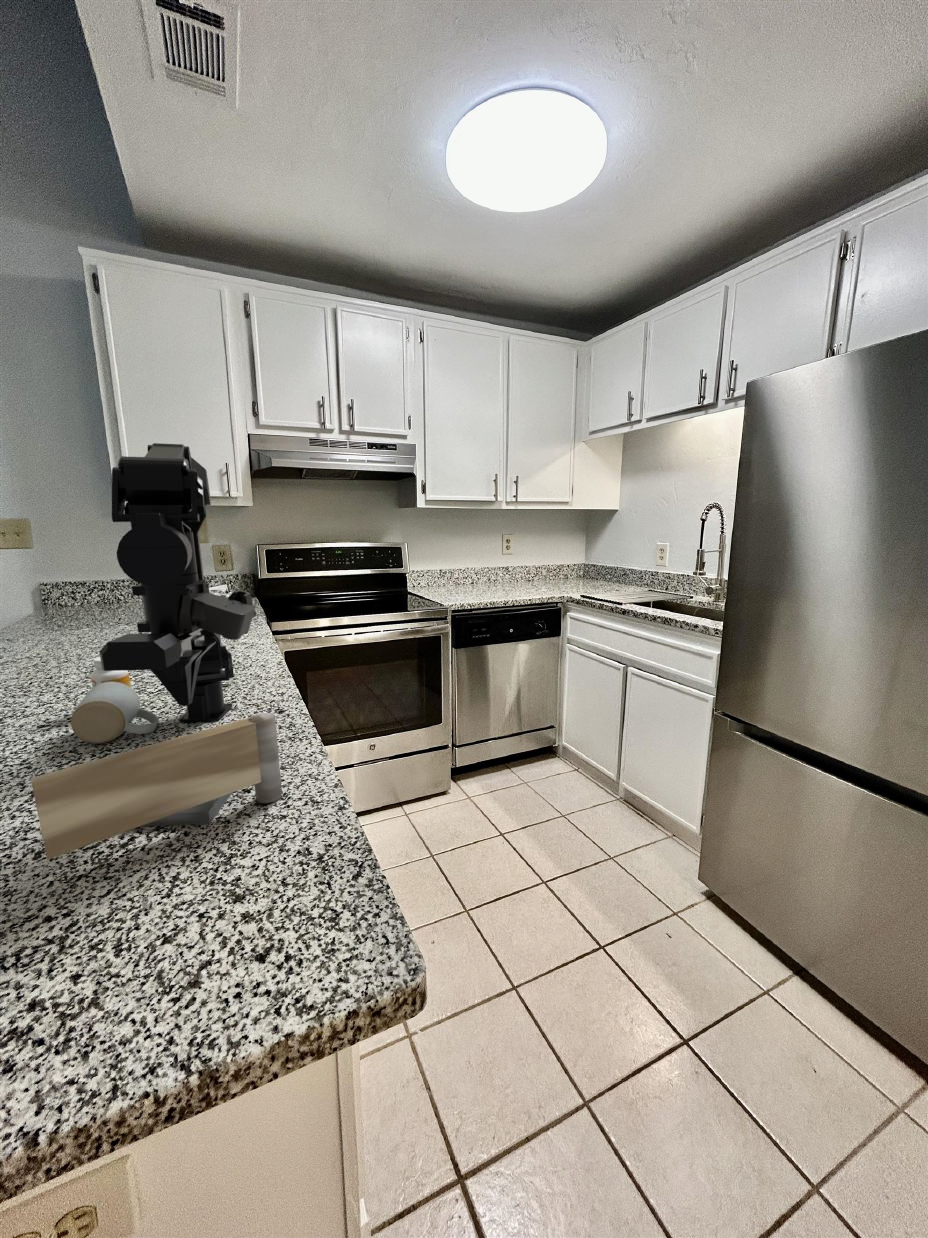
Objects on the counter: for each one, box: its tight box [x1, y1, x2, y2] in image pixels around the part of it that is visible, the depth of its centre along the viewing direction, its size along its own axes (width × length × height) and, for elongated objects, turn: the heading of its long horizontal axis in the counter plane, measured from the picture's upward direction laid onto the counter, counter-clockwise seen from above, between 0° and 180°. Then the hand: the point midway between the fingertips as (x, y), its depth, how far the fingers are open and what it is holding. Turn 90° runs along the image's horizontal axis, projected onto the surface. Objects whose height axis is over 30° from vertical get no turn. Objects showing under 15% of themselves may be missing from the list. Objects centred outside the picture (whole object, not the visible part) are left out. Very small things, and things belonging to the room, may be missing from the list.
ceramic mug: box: [70, 682, 160, 744], centre depth 80 cm, size 11×8×8 cm
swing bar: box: [30, 712, 283, 861], centre depth 55 cm, size 3×22×10 cm, turn 133°
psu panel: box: [141, 792, 233, 827], centre depth 62 cm, size 12×16×2 cm
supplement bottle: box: [90, 656, 132, 688], centre depth 89 cm, size 5×5×10 cm
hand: (185, 704), depth 60 cm, fingers closed
